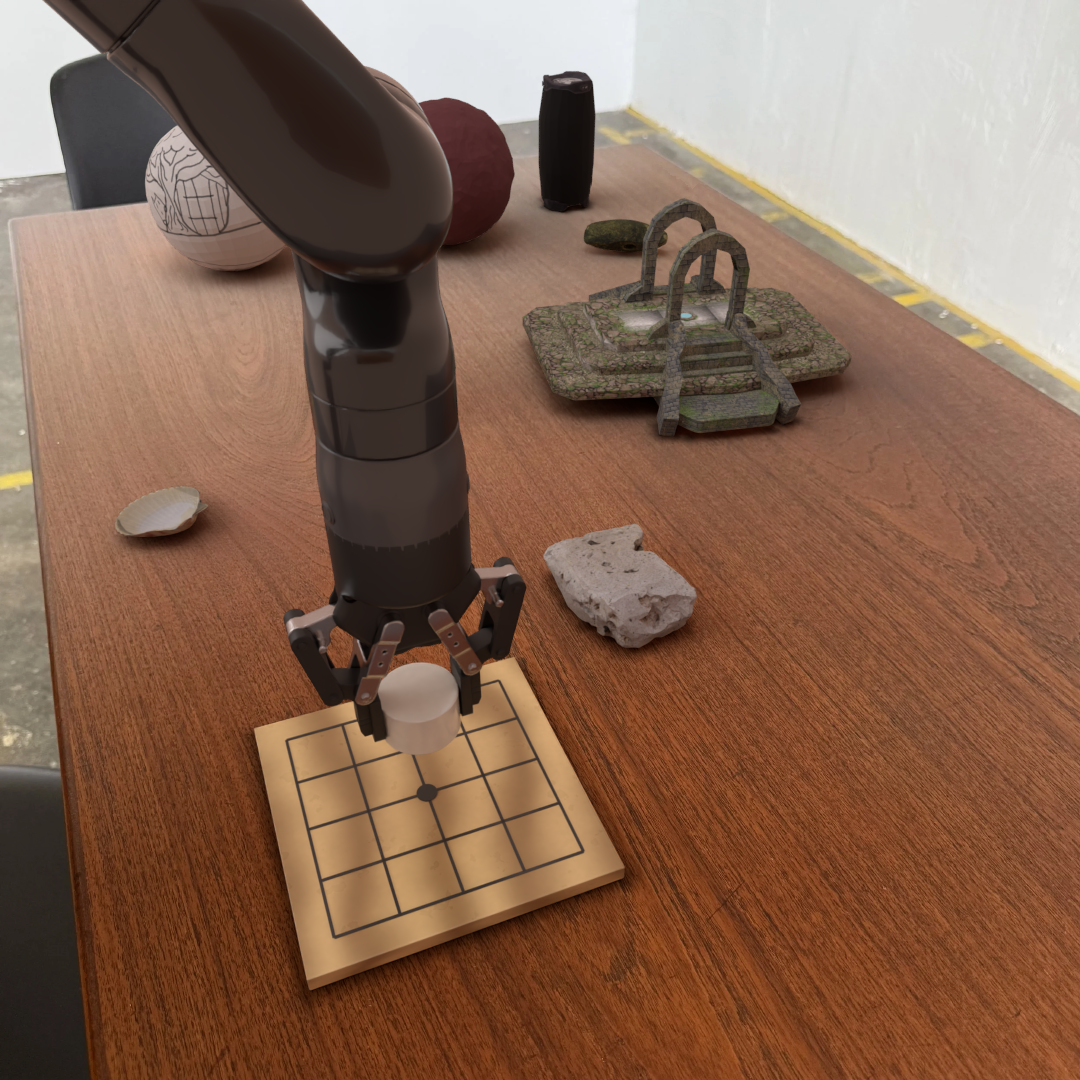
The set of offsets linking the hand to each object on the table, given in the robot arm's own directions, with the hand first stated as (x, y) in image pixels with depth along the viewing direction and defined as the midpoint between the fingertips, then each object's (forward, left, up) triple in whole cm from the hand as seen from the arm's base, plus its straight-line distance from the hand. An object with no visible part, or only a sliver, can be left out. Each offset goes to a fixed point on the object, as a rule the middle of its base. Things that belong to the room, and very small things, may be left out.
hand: (419, 717), depth 60 cm
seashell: (-14, +39, -9) cm, 42 cm away
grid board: (0, 0, -9) cm, 9 cm away
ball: (+1, +100, -9) cm, 100 cm away
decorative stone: (+55, +84, -9) cm, 101 cm away
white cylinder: (0, 0, -1) cm, 1 cm away
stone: (+21, +14, -9) cm, 27 cm away
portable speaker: (+55, +107, -9) cm, 121 cm away
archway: (+46, +50, -9) cm, 68 cm away
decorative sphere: (+32, +98, -9) cm, 103 cm away
